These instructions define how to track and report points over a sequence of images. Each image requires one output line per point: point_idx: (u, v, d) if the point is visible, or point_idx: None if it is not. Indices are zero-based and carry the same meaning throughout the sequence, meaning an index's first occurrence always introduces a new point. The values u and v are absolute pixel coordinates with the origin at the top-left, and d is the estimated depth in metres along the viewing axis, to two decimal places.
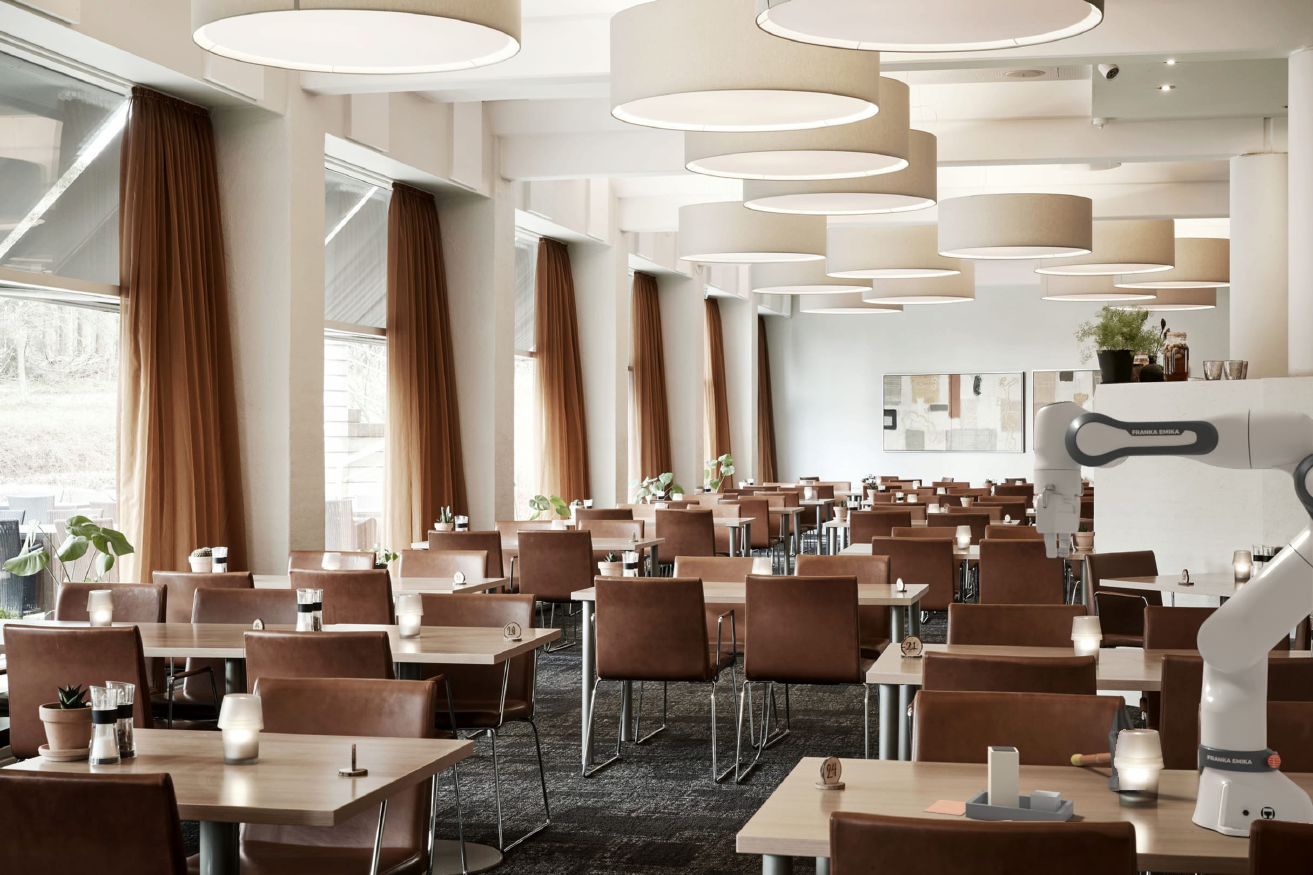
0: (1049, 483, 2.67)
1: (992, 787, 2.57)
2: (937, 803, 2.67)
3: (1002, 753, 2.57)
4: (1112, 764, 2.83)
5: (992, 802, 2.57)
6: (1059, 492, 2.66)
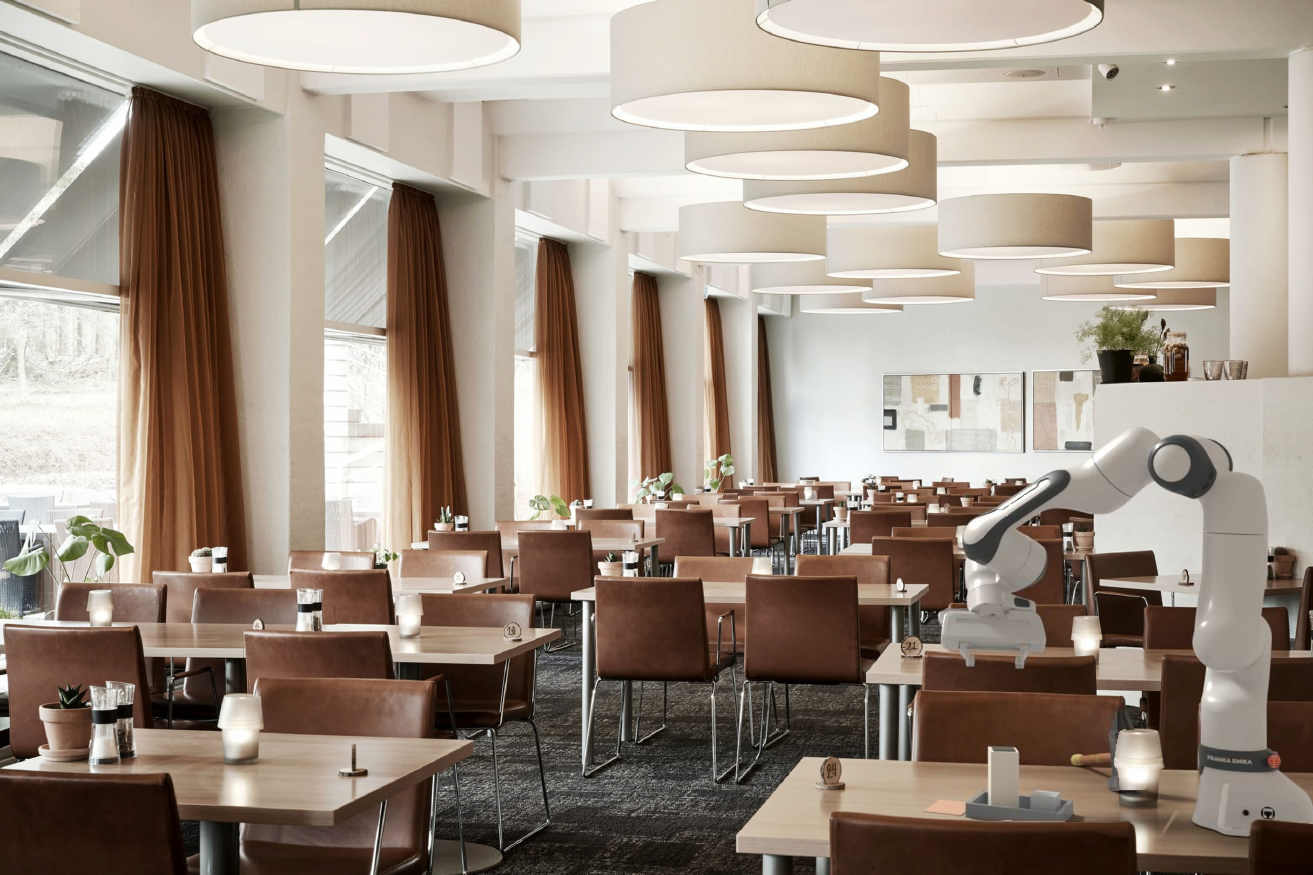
0: None
1: (992, 787, 2.57)
2: (937, 803, 2.67)
3: (1002, 753, 2.57)
4: (1112, 764, 2.83)
5: (992, 802, 2.57)
6: (970, 610, 2.81)
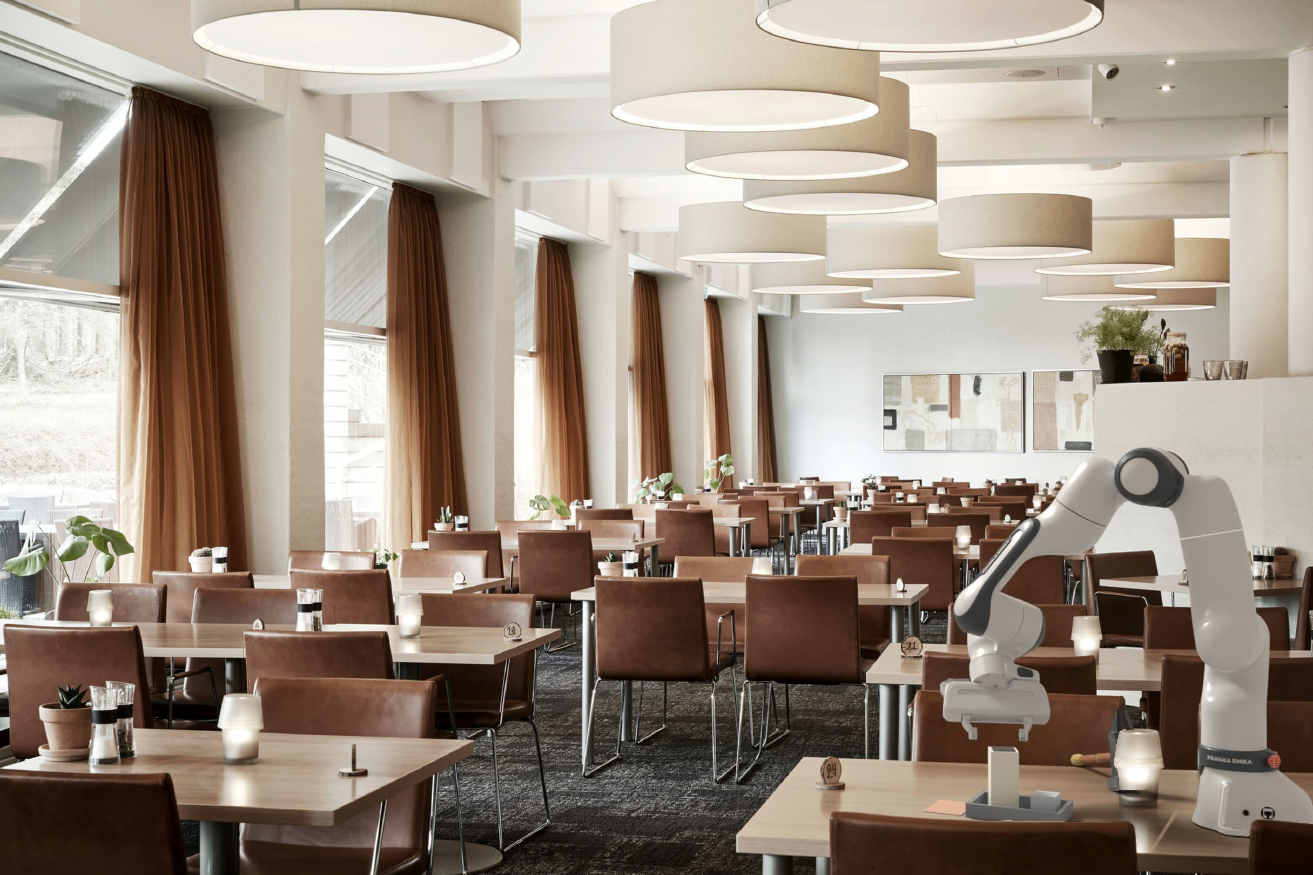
0: None
1: (992, 787, 2.57)
2: (937, 803, 2.67)
3: (1002, 753, 2.57)
4: (1112, 764, 2.83)
5: (992, 802, 2.57)
6: (972, 681, 2.75)
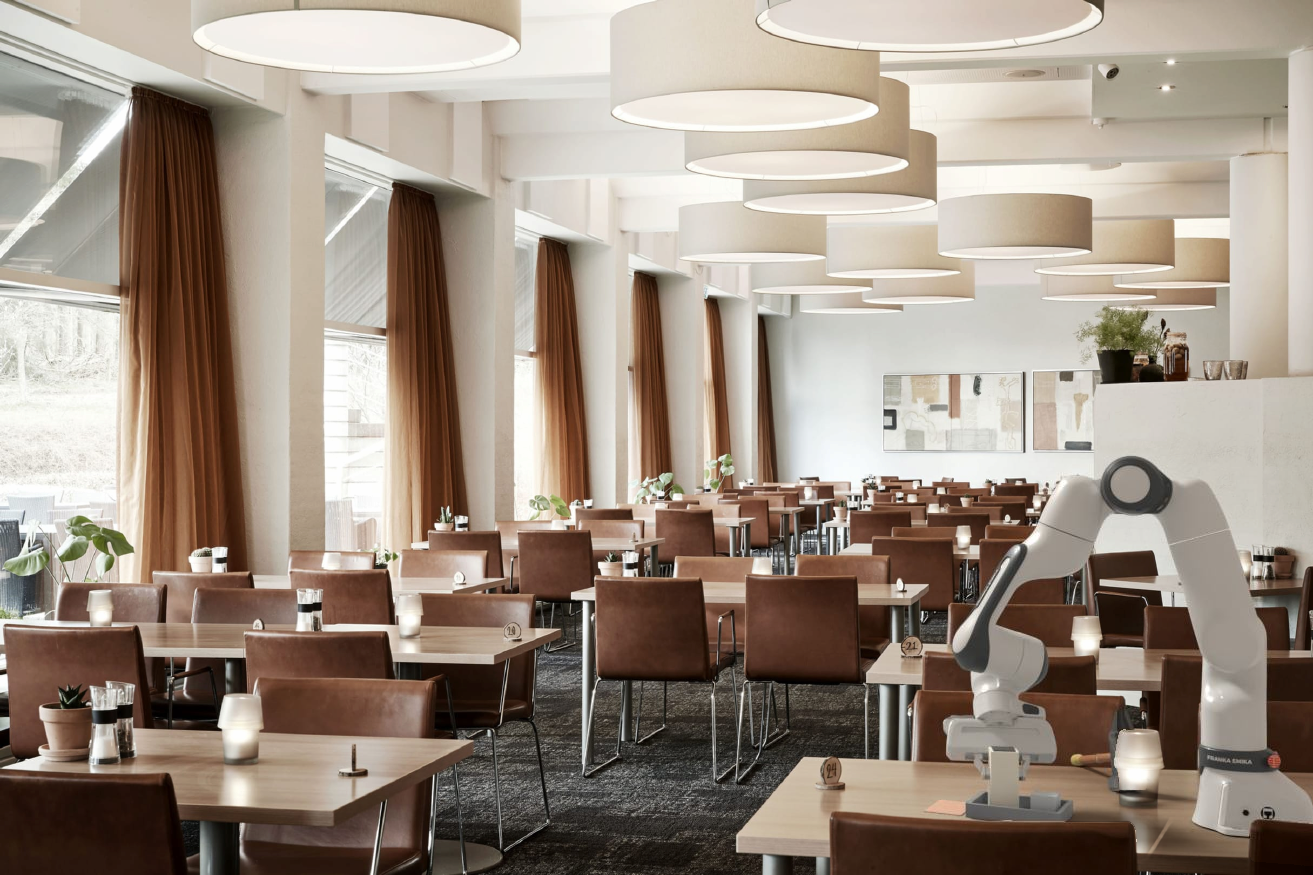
0: None
1: (992, 787, 2.57)
2: (937, 803, 2.67)
3: (1002, 753, 2.57)
4: (1112, 764, 2.83)
5: (992, 802, 2.57)
6: (976, 718, 2.67)
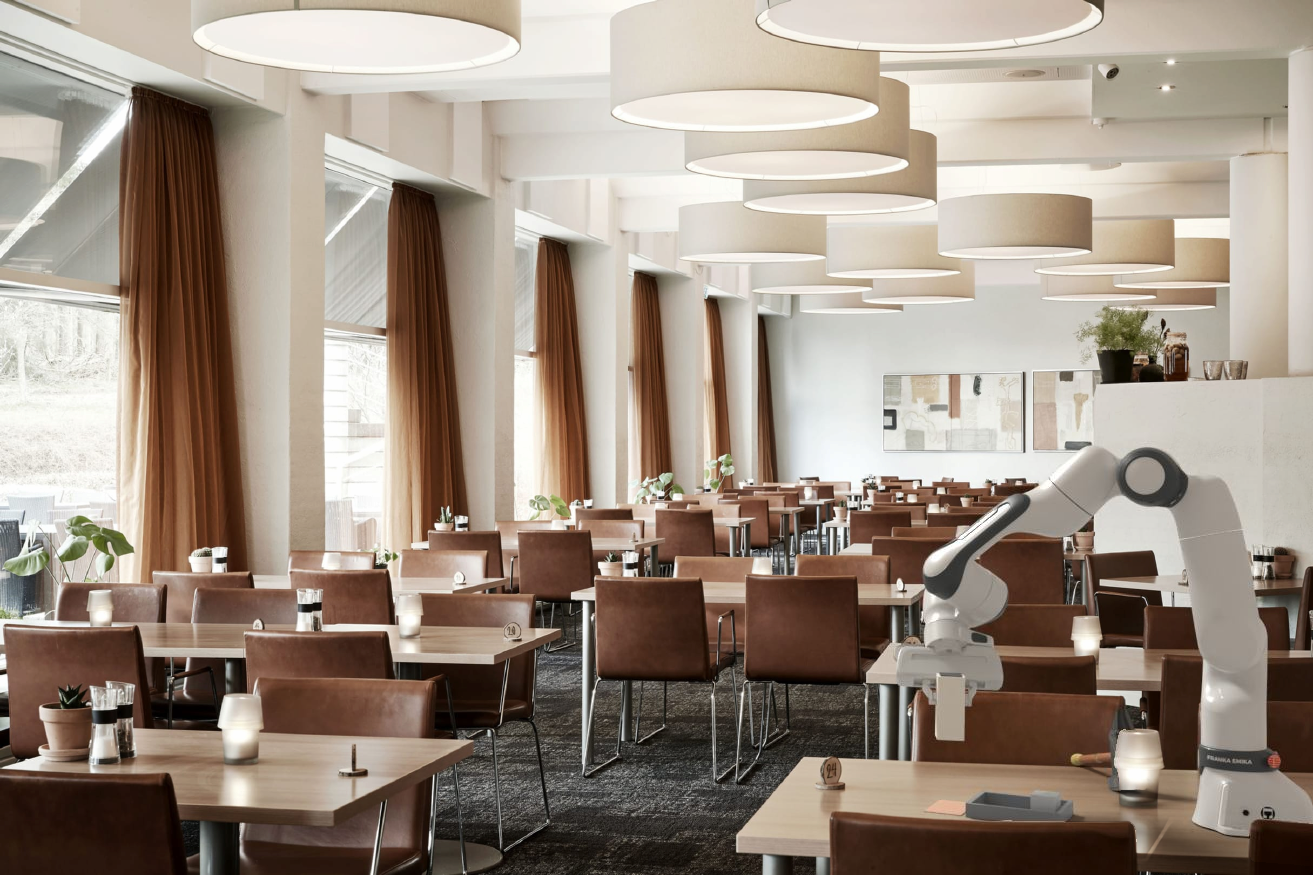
0: None
1: (938, 711, 2.62)
2: (937, 803, 2.67)
3: (949, 678, 2.62)
4: (1112, 764, 2.83)
5: (938, 726, 2.62)
6: (926, 646, 2.72)
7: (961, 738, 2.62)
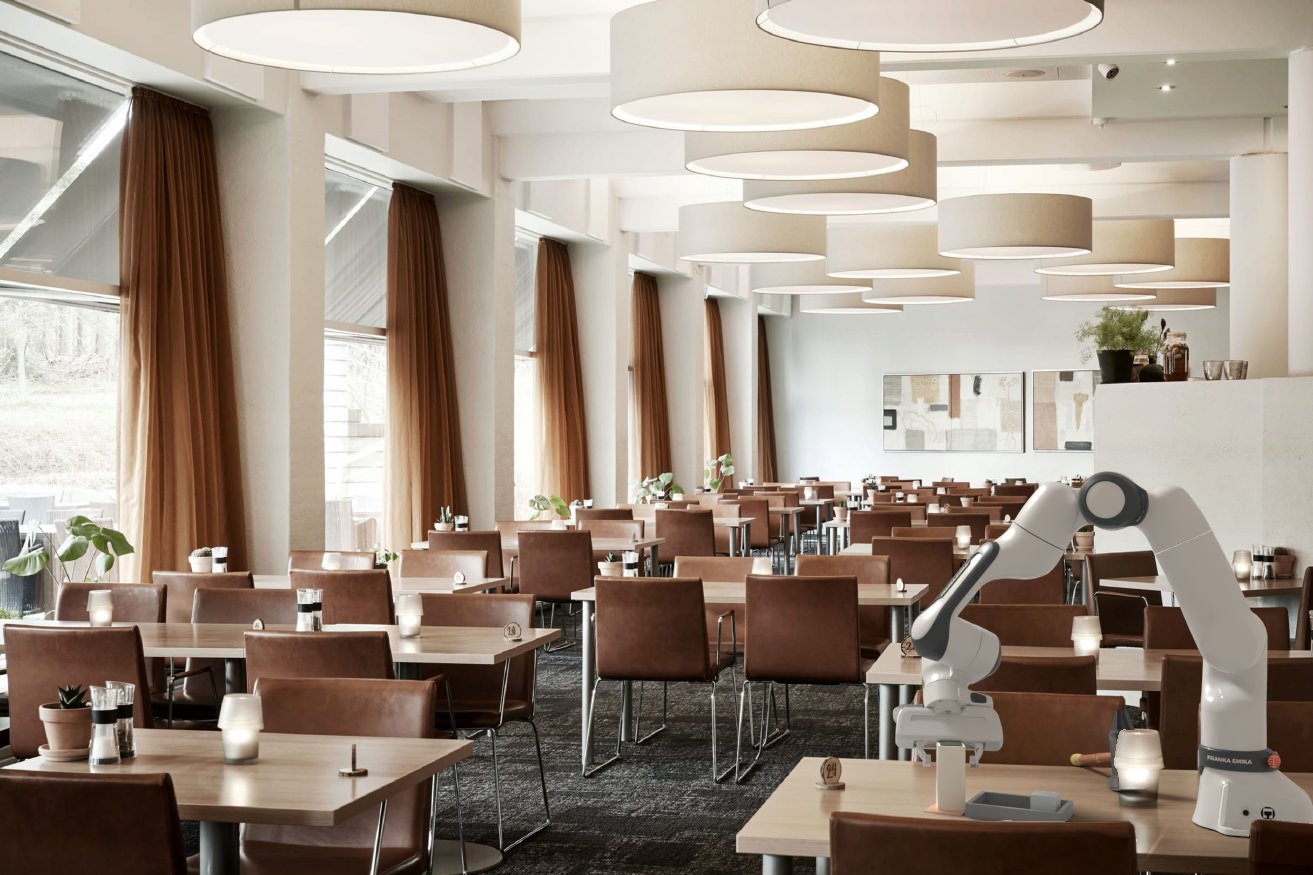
0: None
1: (939, 781, 2.62)
2: None
3: (949, 747, 2.62)
4: (1112, 764, 2.83)
5: (939, 796, 2.62)
6: (925, 706, 2.72)
7: (962, 808, 2.61)
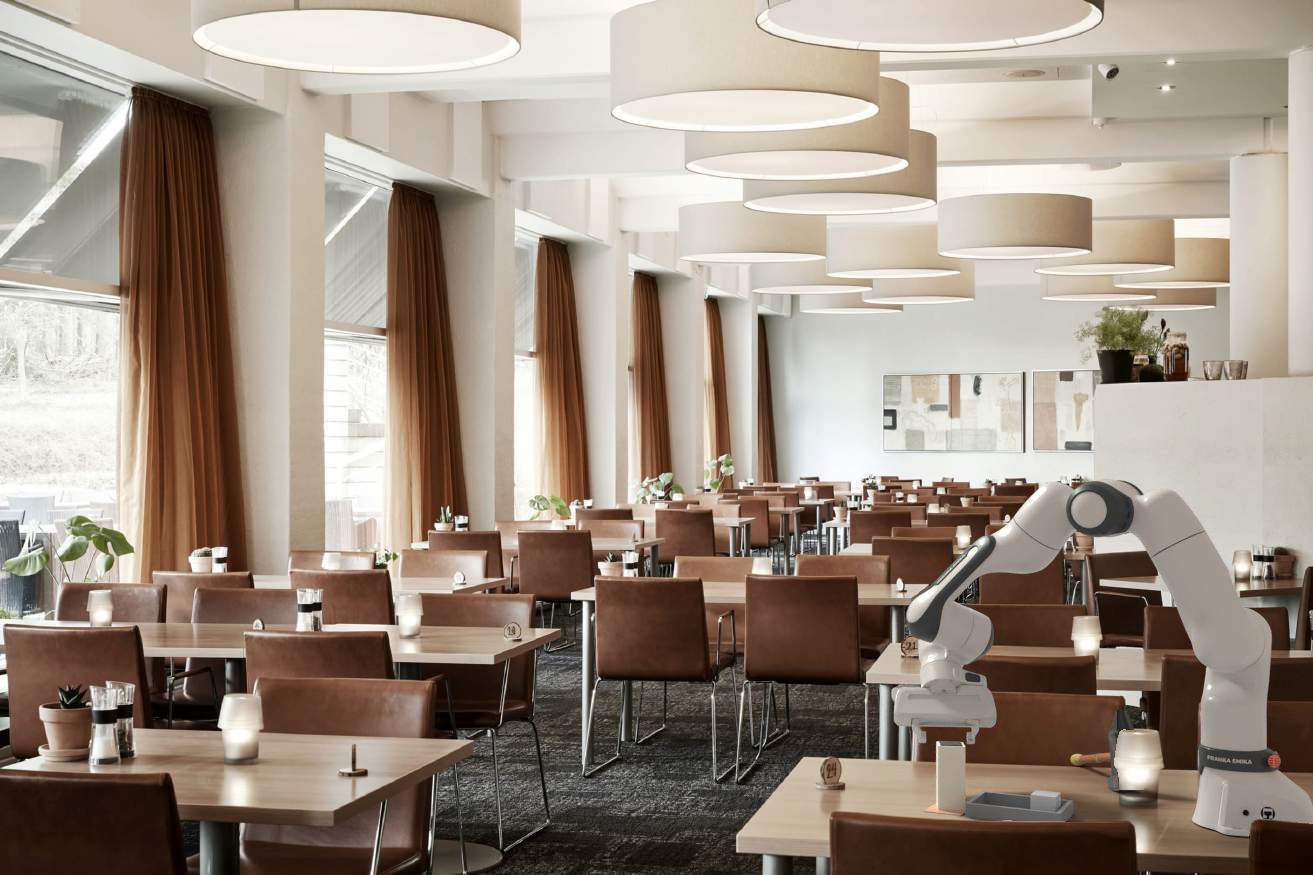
0: None
1: (939, 781, 2.62)
2: None
3: (949, 747, 2.62)
4: (1111, 764, 2.83)
5: (939, 796, 2.62)
6: (922, 686, 2.85)
7: (962, 808, 2.61)
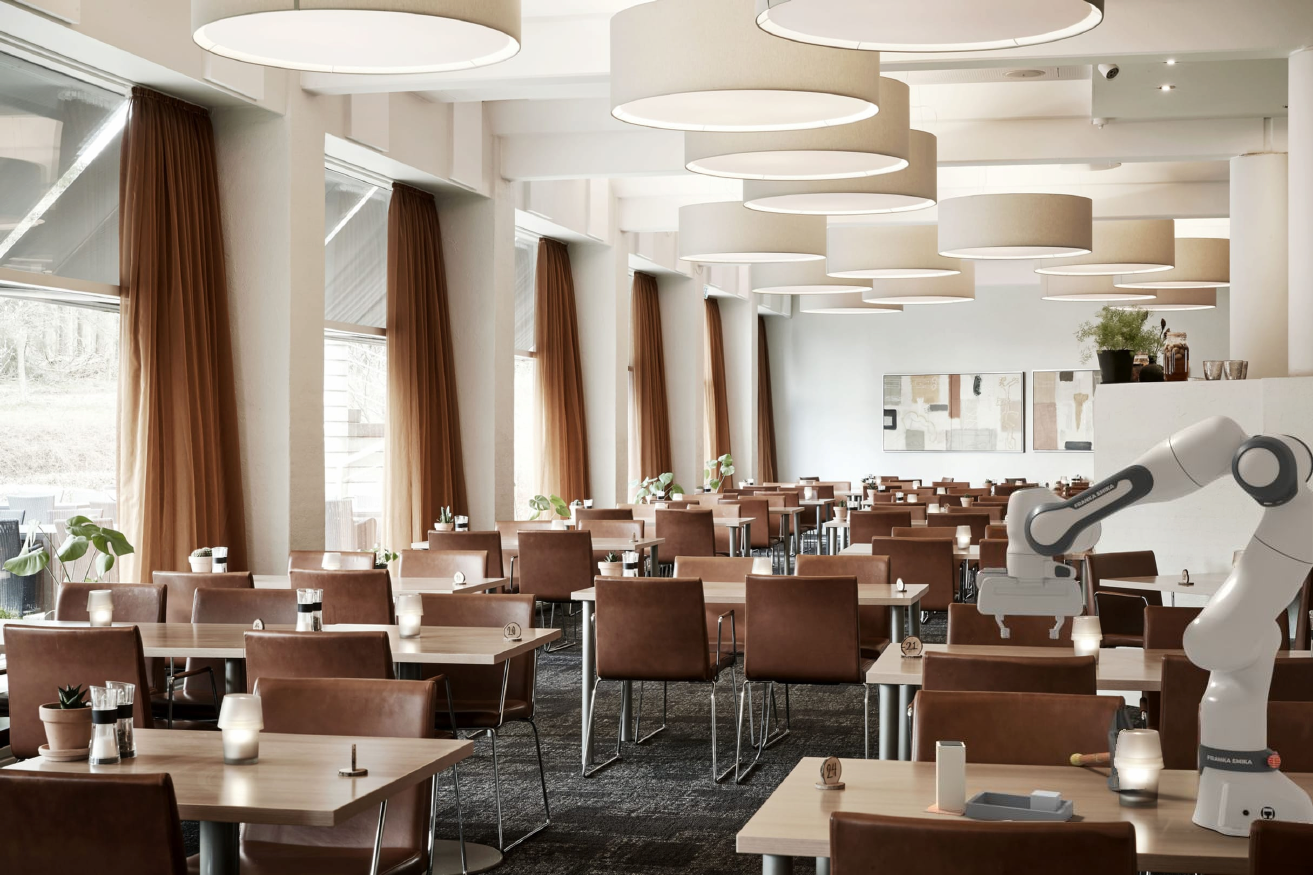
0: None
1: (939, 781, 2.62)
2: None
3: (949, 747, 2.62)
4: (1111, 764, 2.83)
5: (939, 796, 2.62)
6: (1009, 575, 2.77)
7: (962, 808, 2.61)
